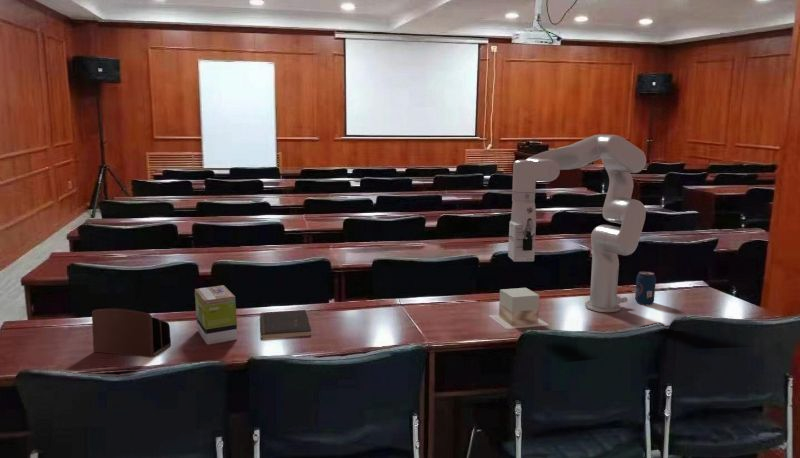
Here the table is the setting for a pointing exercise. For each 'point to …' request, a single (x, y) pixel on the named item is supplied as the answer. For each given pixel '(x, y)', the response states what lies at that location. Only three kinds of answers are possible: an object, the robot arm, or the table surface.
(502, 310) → the lower block
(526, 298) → the upper block
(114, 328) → the letter holder
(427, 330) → the table surface
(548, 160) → the robot arm
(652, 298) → the soda can
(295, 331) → the hardcover book
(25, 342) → the table surface
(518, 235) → the supplement box
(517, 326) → the base board
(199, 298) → the tea box
